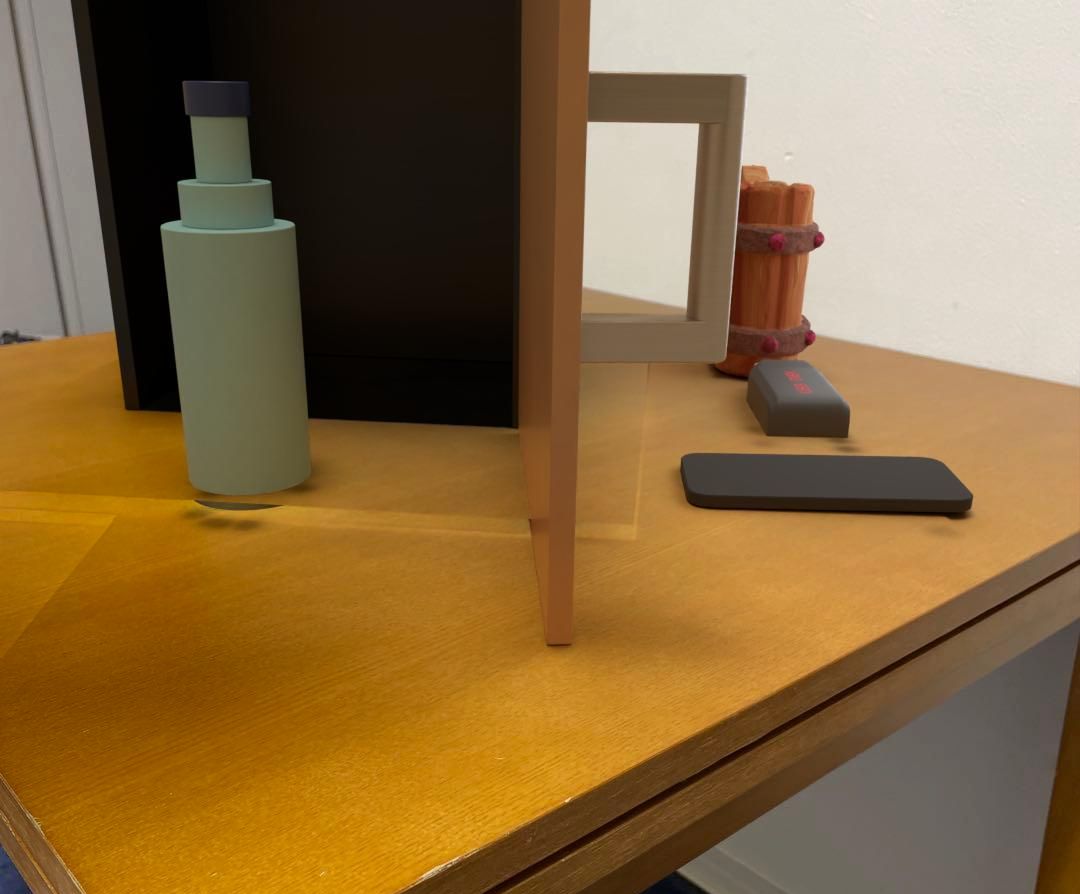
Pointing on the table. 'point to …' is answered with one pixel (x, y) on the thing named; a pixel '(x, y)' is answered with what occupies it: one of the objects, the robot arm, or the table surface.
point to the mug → (770, 272)
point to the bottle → (235, 313)
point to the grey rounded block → (796, 400)
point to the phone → (822, 482)
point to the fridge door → (558, 248)
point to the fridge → (329, 187)
